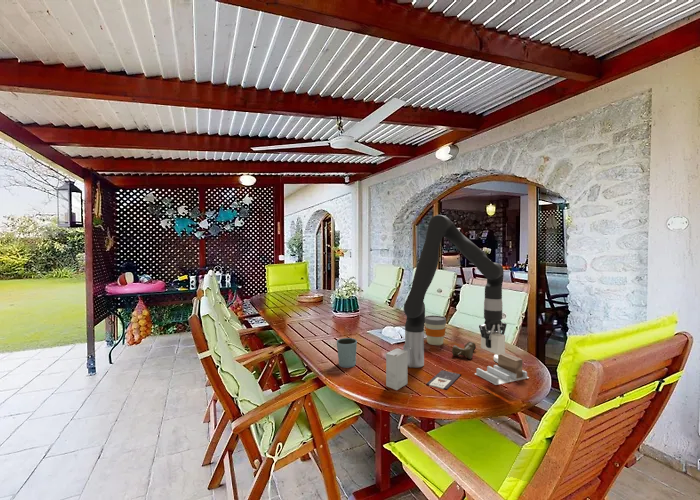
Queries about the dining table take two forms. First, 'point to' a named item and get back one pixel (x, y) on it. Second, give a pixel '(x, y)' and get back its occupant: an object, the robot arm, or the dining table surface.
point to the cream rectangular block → (495, 343)
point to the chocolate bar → (443, 379)
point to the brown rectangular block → (511, 364)
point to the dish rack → (499, 375)
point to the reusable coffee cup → (435, 329)
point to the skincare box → (396, 368)
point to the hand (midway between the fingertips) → (492, 346)
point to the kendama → (464, 350)
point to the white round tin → (496, 358)
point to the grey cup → (347, 352)
